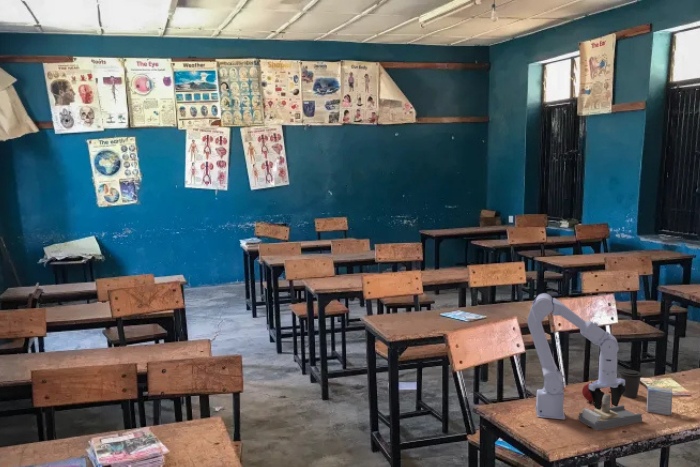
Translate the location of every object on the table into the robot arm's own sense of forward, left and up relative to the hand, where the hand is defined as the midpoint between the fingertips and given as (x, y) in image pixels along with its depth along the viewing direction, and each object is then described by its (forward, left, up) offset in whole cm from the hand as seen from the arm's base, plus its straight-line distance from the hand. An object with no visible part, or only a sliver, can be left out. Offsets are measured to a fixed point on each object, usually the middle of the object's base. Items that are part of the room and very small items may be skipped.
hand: (606, 407), depth 200 cm
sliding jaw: (0, 0, -4) cm, 4 cm away
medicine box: (+20, +14, -6) cm, 25 cm away
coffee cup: (+13, +28, -6) cm, 31 cm away
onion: (-3, +18, -6) cm, 19 cm away
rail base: (+2, +1, -5) cm, 6 cm away
